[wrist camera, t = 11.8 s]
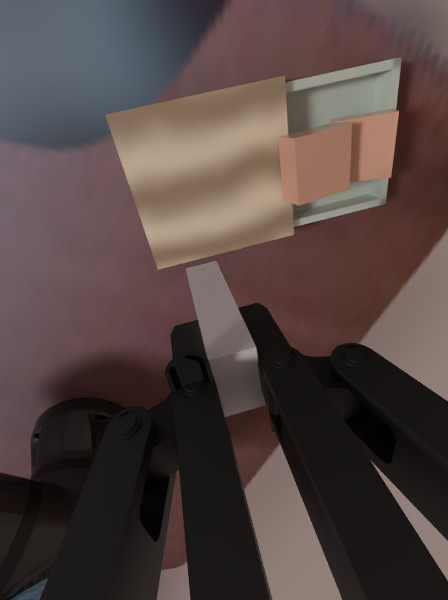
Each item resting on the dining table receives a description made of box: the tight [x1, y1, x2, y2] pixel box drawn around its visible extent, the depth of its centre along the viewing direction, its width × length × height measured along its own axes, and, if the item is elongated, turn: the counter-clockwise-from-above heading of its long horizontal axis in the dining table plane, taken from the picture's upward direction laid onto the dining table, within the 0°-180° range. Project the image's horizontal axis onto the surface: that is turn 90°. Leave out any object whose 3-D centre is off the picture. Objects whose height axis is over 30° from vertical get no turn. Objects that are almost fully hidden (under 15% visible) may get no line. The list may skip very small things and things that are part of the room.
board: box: [106, 76, 294, 269], centre depth 32 cm, size 15×16×4 cm
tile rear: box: [331, 109, 399, 182], centre depth 32 cm, size 6×6×3 cm
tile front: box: [278, 123, 352, 206], centre depth 30 cm, size 6×6×3 cm
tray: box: [285, 57, 402, 227], centre depth 33 cm, size 14×12×3 cm
